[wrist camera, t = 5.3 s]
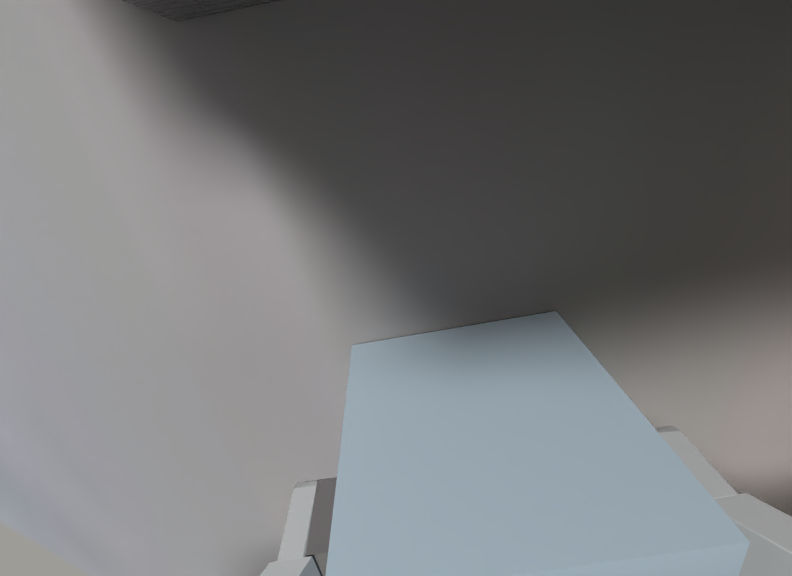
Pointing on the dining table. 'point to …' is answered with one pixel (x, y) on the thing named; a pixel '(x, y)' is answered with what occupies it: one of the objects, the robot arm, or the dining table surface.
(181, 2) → the dark grey toaster
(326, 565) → the robot arm
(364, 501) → the light blue block
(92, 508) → the dining table surface
